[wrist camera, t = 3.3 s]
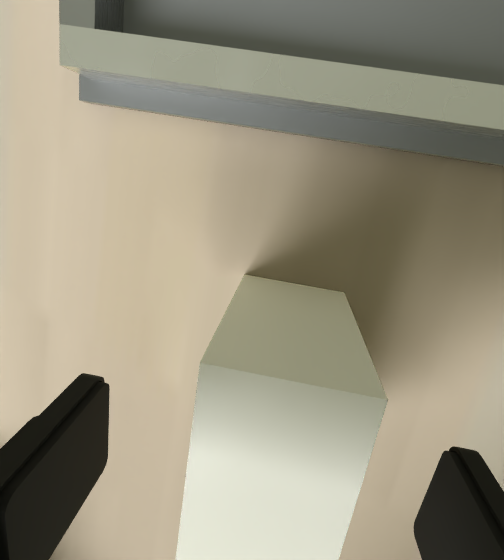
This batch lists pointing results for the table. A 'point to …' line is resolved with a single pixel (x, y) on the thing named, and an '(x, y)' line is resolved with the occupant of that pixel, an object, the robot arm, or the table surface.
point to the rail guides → (272, 76)
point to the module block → (279, 427)
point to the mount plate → (329, 47)
